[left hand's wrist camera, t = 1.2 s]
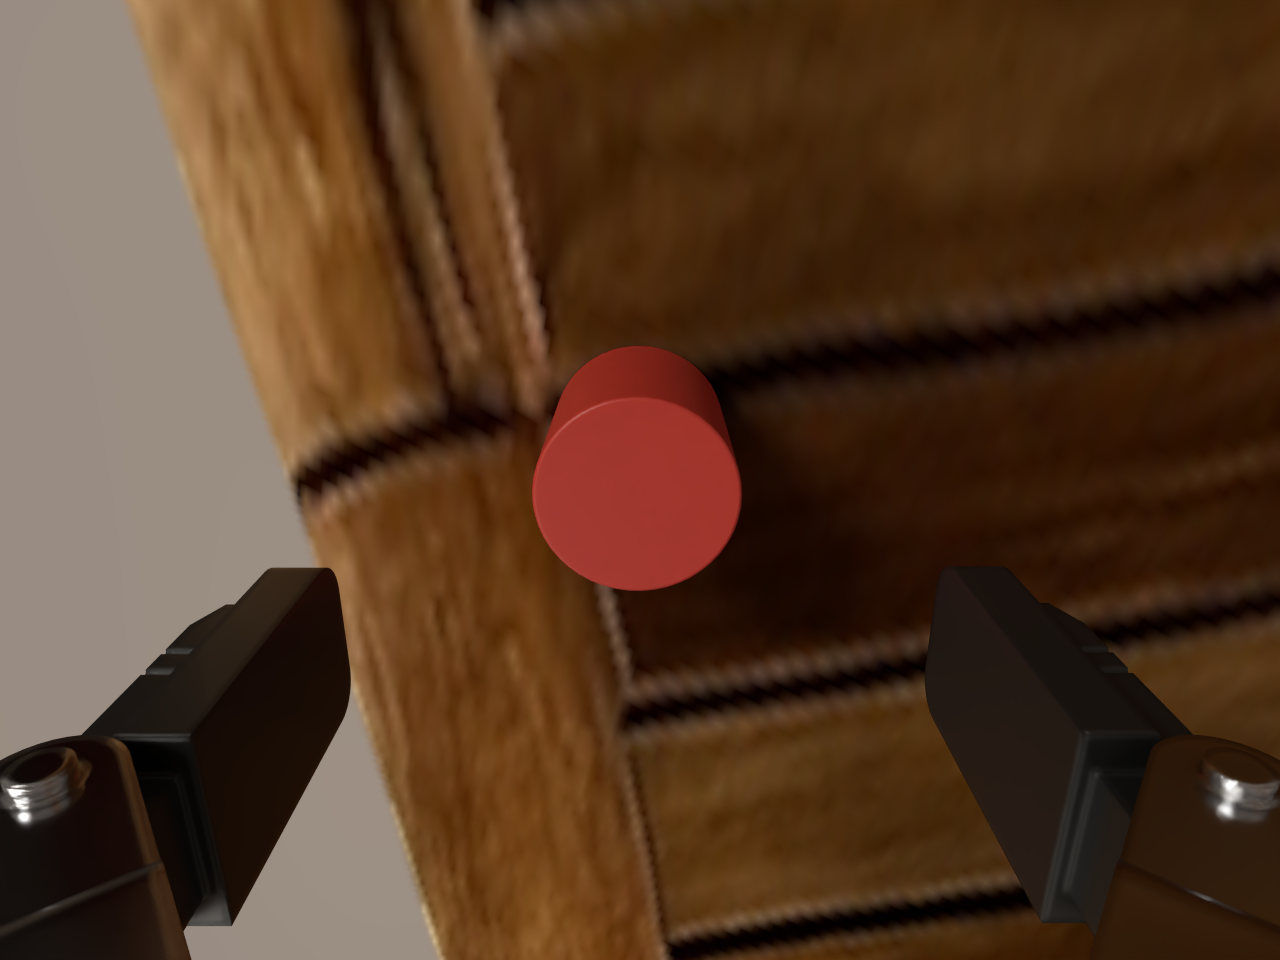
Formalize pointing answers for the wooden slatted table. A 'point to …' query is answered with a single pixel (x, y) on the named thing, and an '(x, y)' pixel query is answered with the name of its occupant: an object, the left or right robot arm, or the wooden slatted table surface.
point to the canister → (637, 472)
